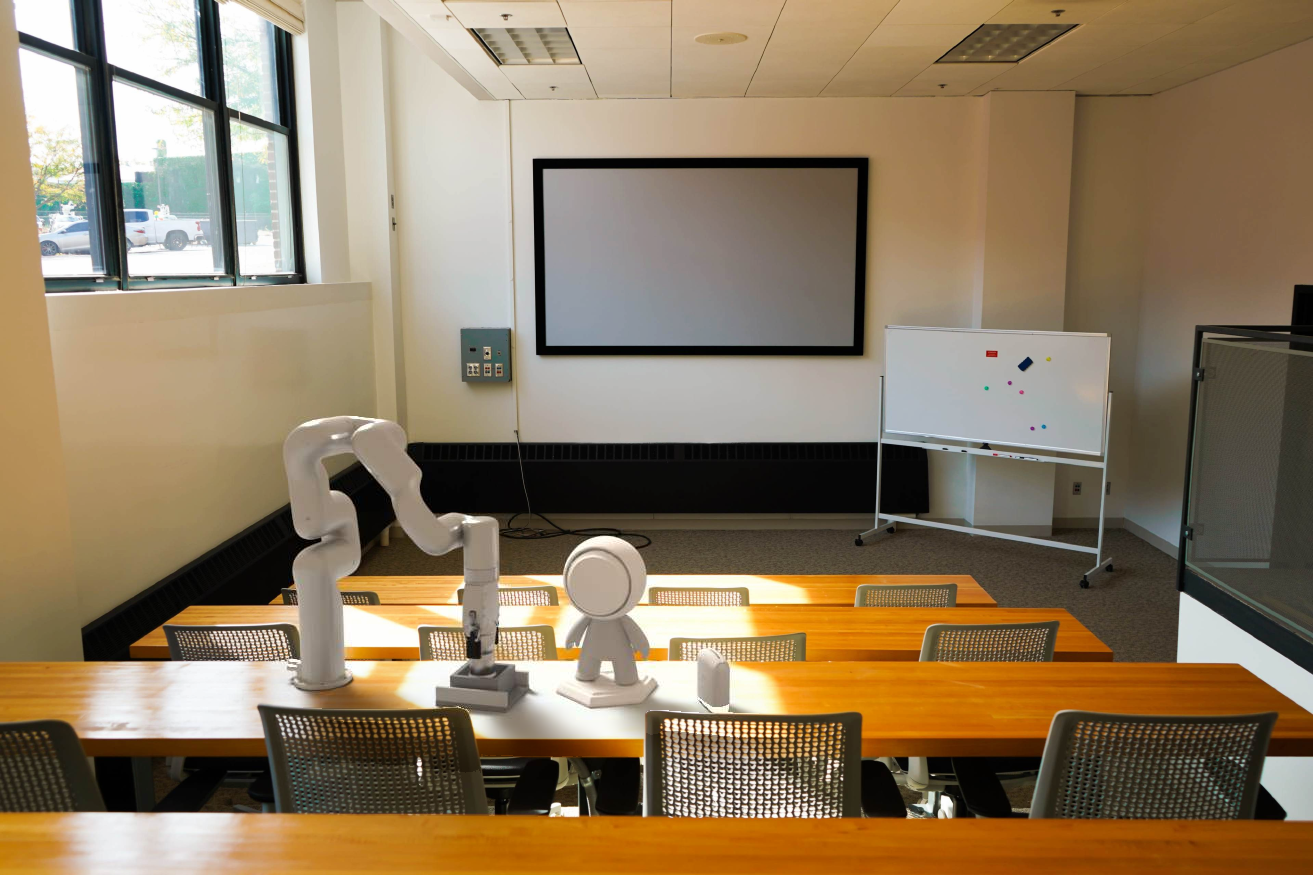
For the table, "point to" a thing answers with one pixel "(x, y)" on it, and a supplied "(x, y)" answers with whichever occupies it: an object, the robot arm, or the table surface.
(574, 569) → the white cartoon figure
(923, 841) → the table surface
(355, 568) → the robot arm
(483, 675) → the plastic bottle
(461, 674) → the gray open square box
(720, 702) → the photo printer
